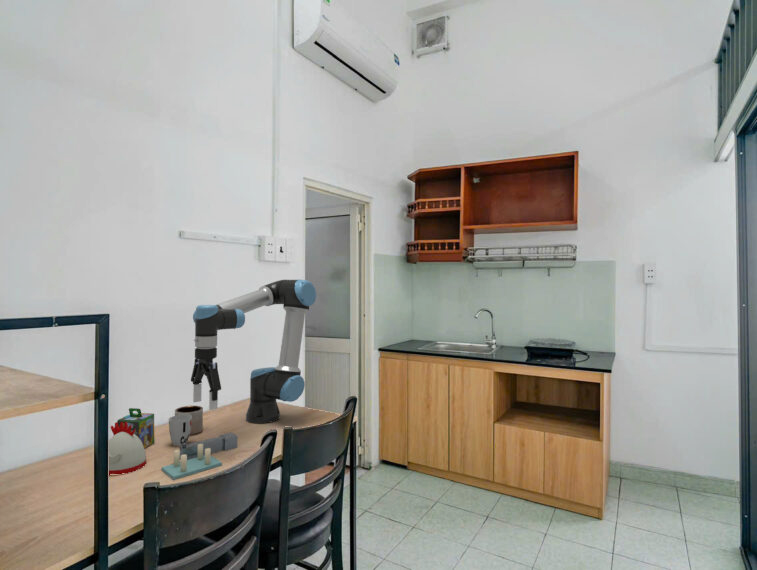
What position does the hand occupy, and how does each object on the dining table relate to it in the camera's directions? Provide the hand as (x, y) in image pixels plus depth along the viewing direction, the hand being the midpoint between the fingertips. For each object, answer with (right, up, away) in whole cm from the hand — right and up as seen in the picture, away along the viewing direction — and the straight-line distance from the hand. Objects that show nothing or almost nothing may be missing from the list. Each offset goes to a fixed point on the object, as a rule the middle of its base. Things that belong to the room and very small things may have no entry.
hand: (205, 405), depth 160 cm
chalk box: (-28, -17, +5) cm, 33 cm away
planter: (-15, -17, +22) cm, 32 cm away
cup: (-13, -17, +8) cm, 23 cm away
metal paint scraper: (+1, -17, 0) cm, 17 cm away
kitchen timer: (-22, -17, -13) cm, 31 cm away
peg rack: (+1, -17, -13) cm, 22 cm away
